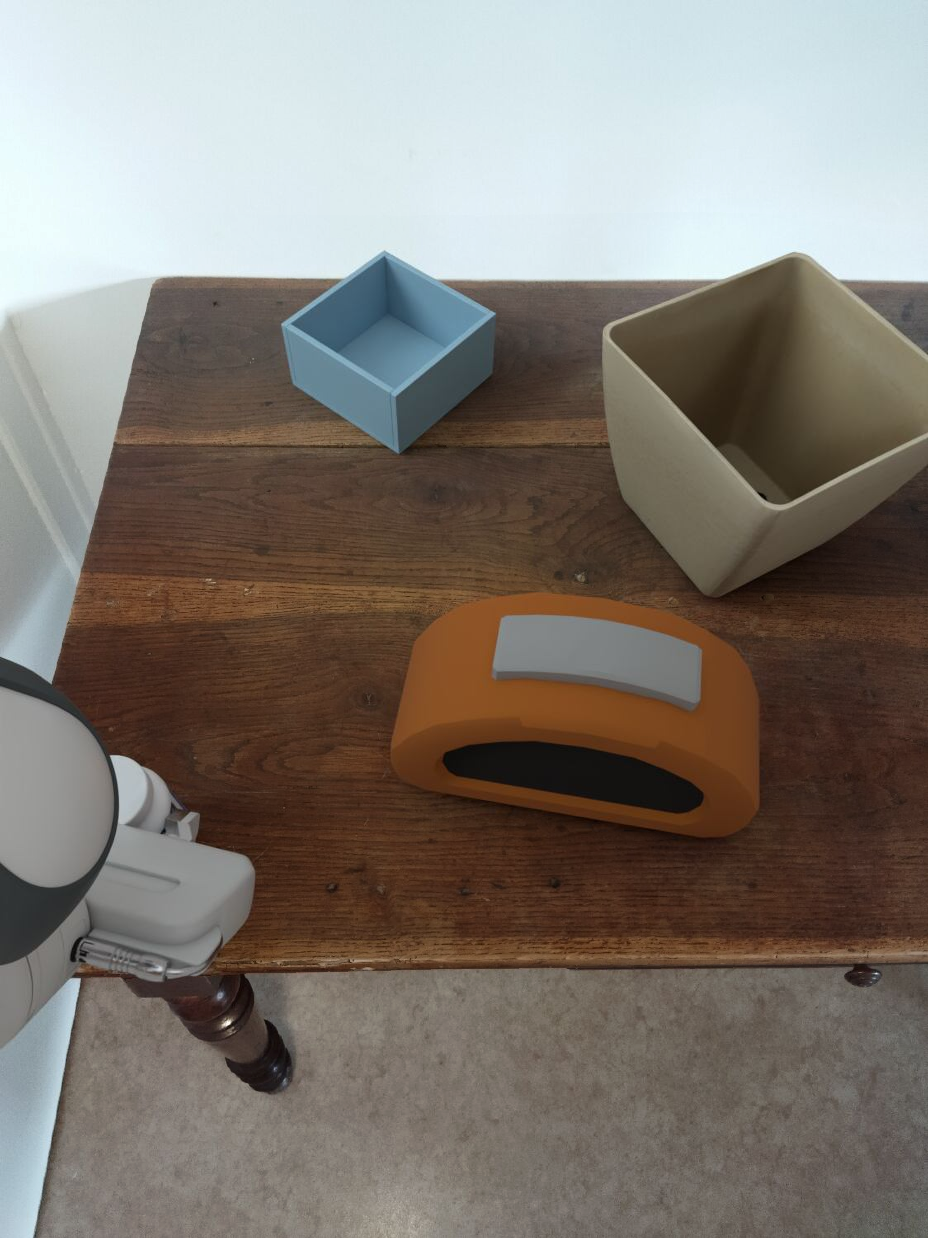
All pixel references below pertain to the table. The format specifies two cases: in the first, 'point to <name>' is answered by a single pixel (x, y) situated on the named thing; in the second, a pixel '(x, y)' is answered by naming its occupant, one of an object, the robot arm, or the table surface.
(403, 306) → the open box
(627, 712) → the alarm clock
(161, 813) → the pill bottle
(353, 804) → the table surface
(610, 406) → the flower pot
